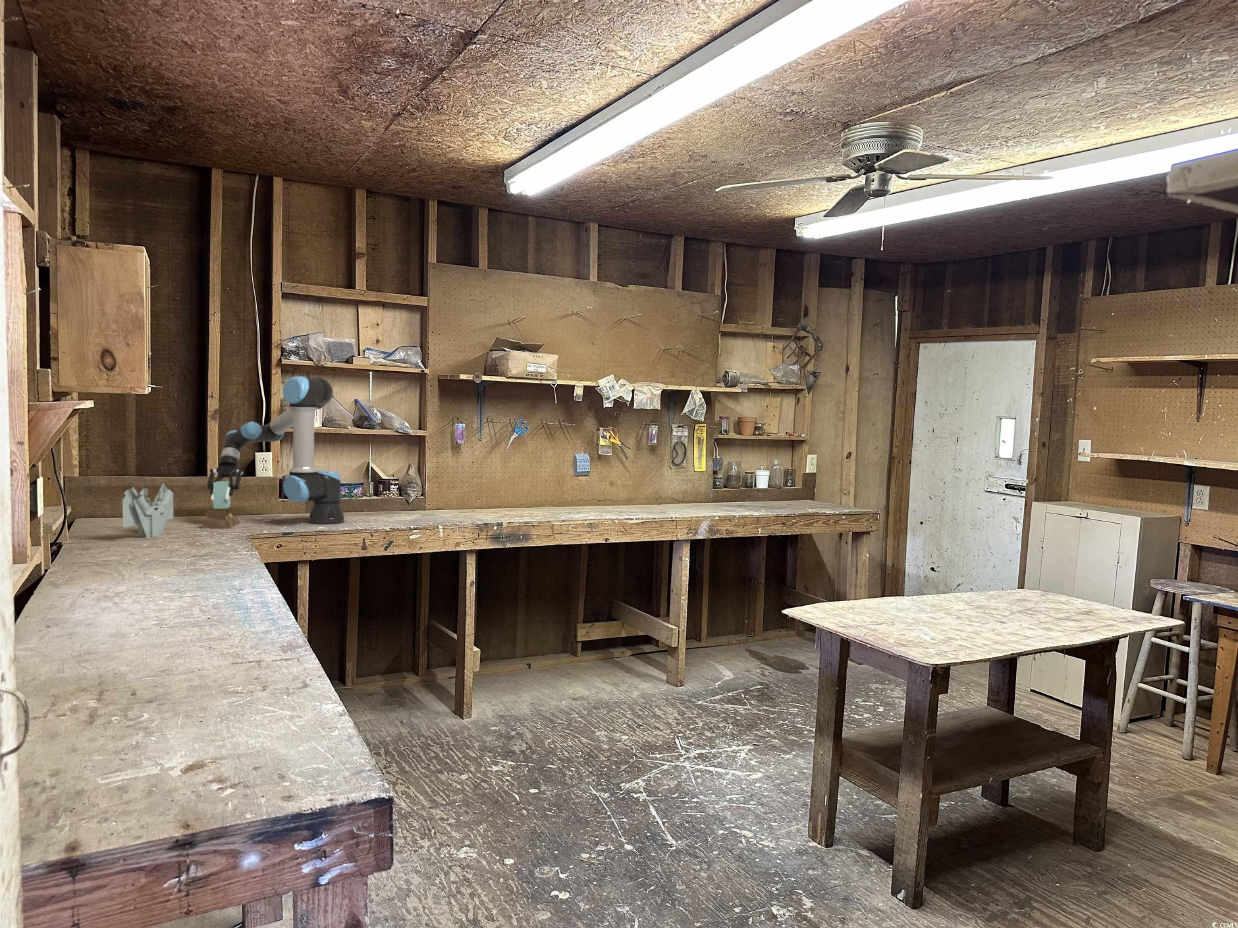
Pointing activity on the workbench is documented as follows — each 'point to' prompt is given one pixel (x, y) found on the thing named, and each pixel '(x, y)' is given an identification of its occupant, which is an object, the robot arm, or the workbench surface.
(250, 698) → the workbench surface
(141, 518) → the bracket
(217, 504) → the mint green box
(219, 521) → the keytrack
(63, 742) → the workbench surface
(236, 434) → the robot arm
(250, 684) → the workbench surface
